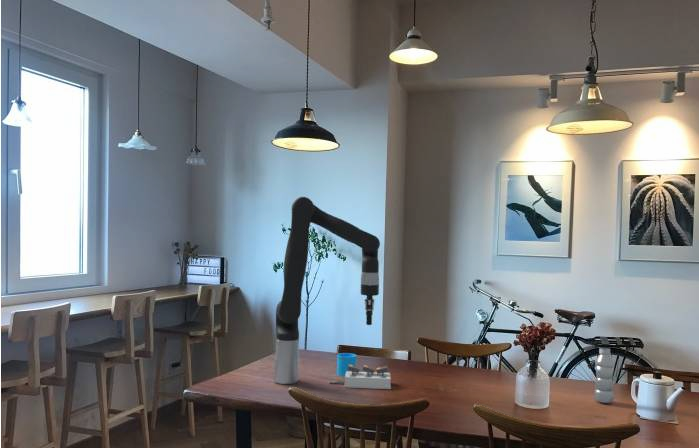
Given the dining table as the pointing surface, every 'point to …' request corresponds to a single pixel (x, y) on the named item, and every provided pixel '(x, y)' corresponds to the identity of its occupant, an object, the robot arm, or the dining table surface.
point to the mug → (345, 362)
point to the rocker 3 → (382, 369)
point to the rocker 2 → (368, 369)
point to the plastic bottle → (604, 376)
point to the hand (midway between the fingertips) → (369, 323)
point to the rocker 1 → (353, 368)
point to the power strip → (366, 380)
